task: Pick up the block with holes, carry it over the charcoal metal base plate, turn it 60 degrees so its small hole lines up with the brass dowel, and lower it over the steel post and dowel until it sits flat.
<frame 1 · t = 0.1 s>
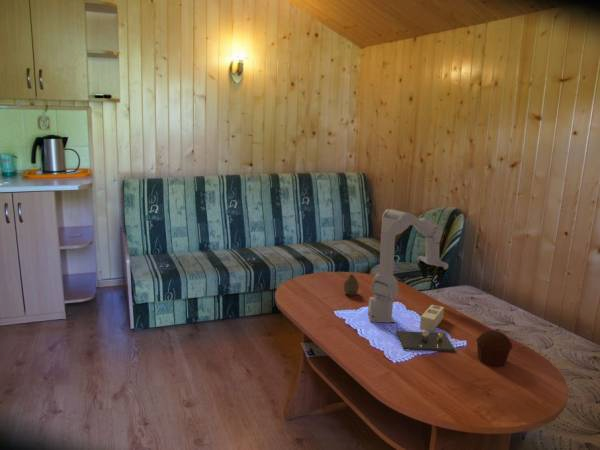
hand: (432, 279, 217), 10 cm above the table, tool pointing down, fingers open, 7 cm apart
muffin: (491, 361, 169), on the table
flange base: (424, 342, 180), on the table
block with holes: (431, 323, 197), on the table
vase: (350, 294, 226), on the table
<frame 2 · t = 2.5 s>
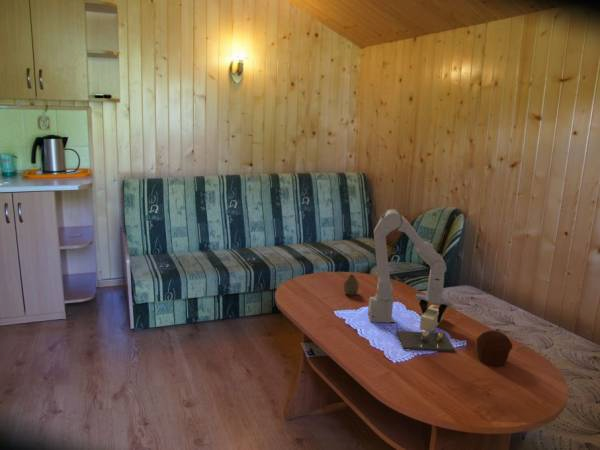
hand: (431, 320, 197), 1 cm above the table, tool pointing down, fingers closed on block with holes, 5 cm apart
block with holes: (431, 323, 197), on the table, touching gripper
everything else where it was.
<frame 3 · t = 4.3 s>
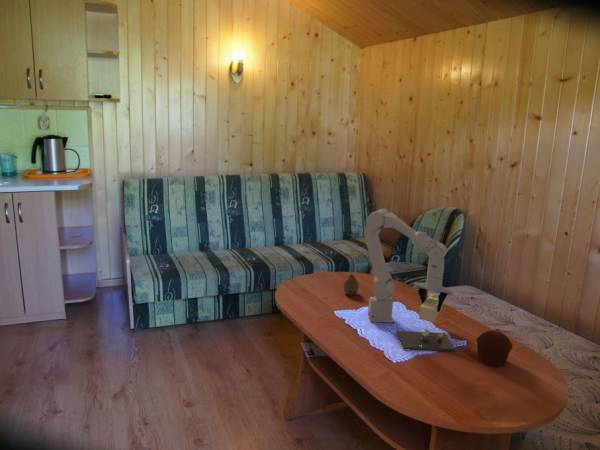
hand: (431, 309, 189), 8 cm above the table, tool pointing down, fingers closed on block with holes, 5 cm apart
block with holes: (431, 313, 190), point 7 cm above the table, touching gripper
everything else where it was.
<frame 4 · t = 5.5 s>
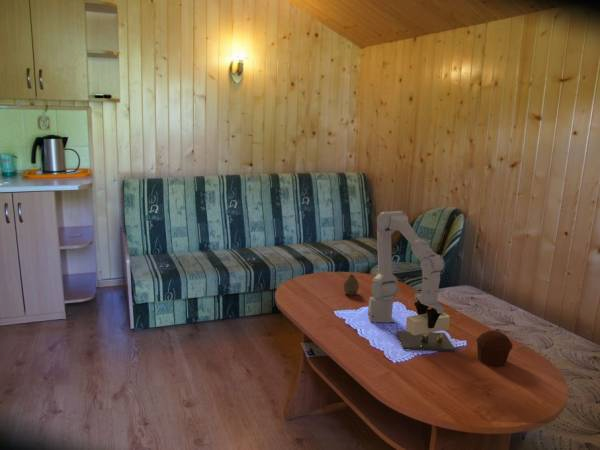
hand: (426, 324, 179), 7 cm above the table, tool pointing down, fingers closed on block with holes, 5 cm apart
block with holes: (427, 329, 179), point 5 cm above the table, touching gripper
everything else where it was.
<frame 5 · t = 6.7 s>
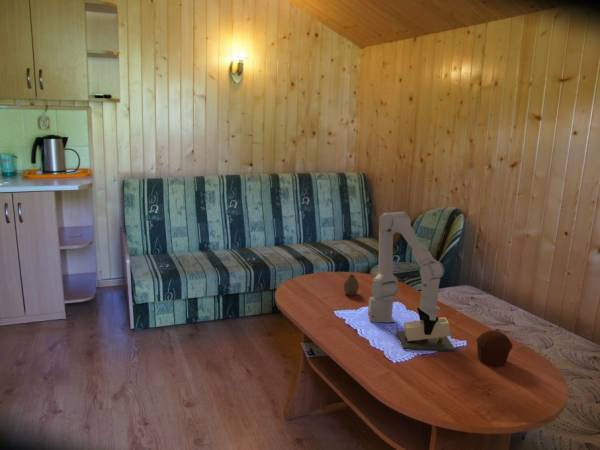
hand: (425, 331, 179), 4 cm above the table, tool pointing down, fingers closed on block with holes, 5 cm apart
block with holes: (427, 335, 180), point 3 cm above the table, tilted 10°, touching gripper
everything else where it was.
when the fingers open (4 cm above the table, at t = 7.3 s): block with holes drops 1 cm, resting on flange base.
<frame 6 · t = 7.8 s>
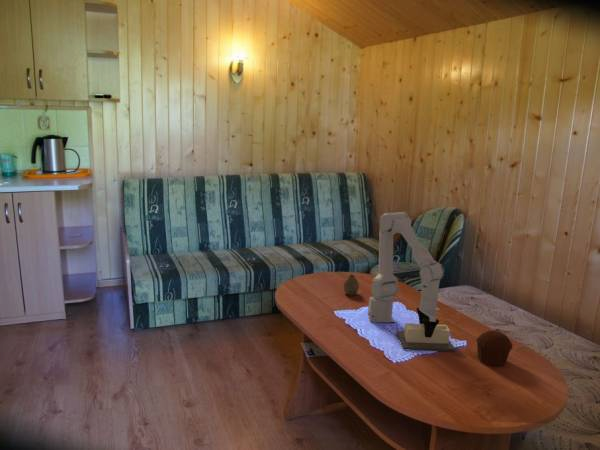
hand: (425, 332, 179), 4 cm above the table, tool pointing down, fingers open, 7 cm apart
block with holes: (425, 339, 180), point 1 cm above the table, touching flange base
everything else where it was.
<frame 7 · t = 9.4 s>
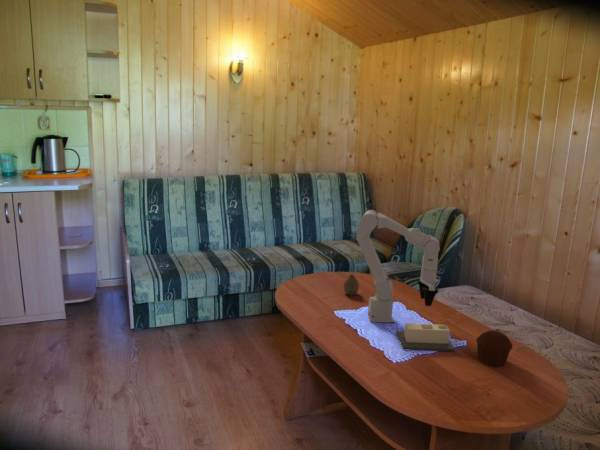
hand: (425, 301, 194), 9 cm above the table, tool pointing down, fingers open, 7 cm apart
nothing on the table moved.
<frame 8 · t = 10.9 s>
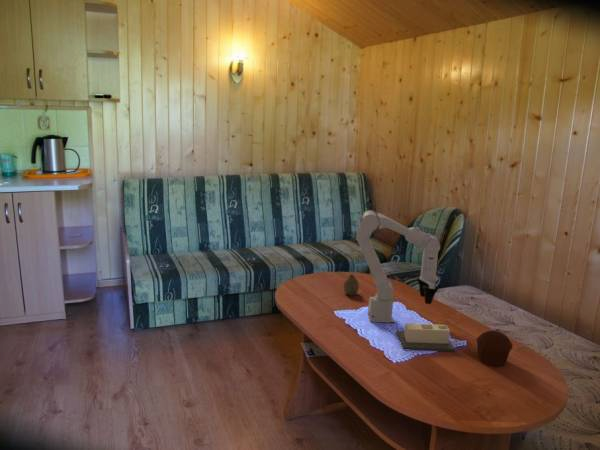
hand: (425, 300, 196), 9 cm above the table, tool pointing down, fingers open, 7 cm apart
nothing on the table moved.
at the end: block with holes 0.4 cm from the flange base (horizontally); block with holes point 1.0 cm above the table; block with holes tilted 0° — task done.
